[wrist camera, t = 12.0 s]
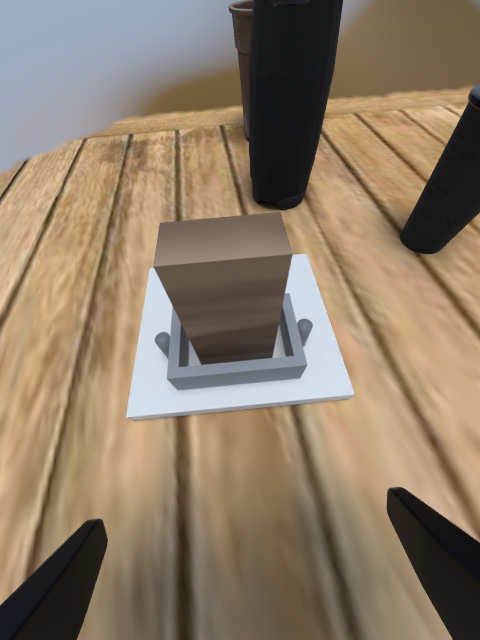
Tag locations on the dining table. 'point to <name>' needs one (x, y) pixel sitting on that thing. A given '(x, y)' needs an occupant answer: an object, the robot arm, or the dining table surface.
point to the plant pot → (243, 49)
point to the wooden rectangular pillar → (226, 282)
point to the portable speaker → (288, 92)
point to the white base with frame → (242, 376)
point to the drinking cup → (449, 187)
